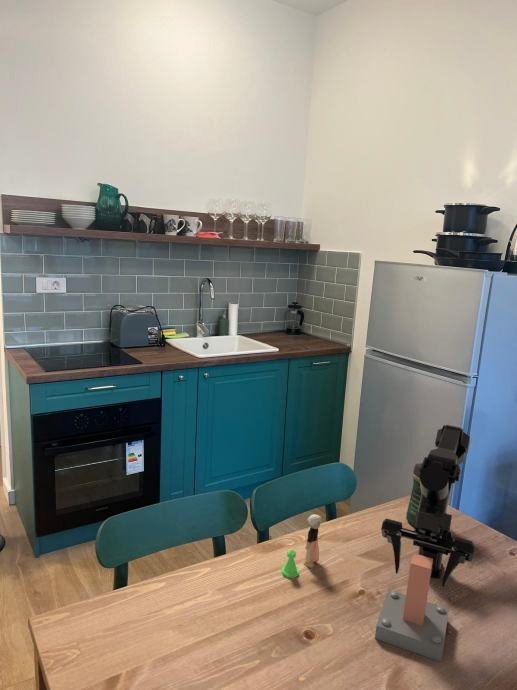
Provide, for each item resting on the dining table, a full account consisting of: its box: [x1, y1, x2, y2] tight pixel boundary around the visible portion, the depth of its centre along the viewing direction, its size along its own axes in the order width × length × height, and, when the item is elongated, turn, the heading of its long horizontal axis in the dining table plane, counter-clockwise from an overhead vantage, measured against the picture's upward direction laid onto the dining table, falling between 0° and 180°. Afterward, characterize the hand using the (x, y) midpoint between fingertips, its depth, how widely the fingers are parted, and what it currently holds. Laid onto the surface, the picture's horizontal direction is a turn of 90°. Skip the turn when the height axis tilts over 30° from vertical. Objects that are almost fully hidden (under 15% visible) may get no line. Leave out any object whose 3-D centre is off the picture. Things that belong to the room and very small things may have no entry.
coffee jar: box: [405, 462, 423, 527], centre depth 155 cm, size 10×8×19 cm
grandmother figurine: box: [303, 514, 322, 569], centre depth 133 cm, size 8×4×13 cm, turn 168°
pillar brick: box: [403, 552, 433, 626], centre depth 111 cm, size 4×4×13 cm
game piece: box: [280, 549, 300, 579], centre depth 128 cm, size 4×4×6 cm
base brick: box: [374, 589, 450, 662], centre depth 112 cm, size 13×13×4 cm
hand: (419, 580), depth 111 cm, fingers open, 9 cm apart
